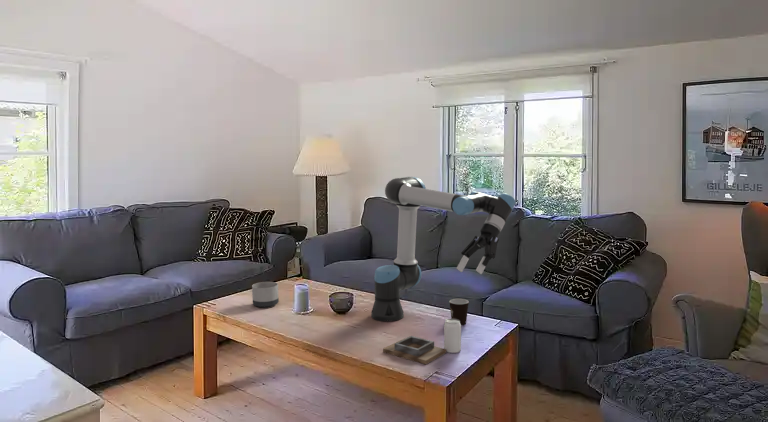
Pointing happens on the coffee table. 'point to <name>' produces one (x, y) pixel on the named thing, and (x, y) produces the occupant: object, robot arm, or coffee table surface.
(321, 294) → the coffee table surface
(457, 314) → the coffee mug
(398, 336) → the coffee table surface
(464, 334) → the coffee table surface
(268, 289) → the planter
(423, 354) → the wooden board with frame
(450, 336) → the can
